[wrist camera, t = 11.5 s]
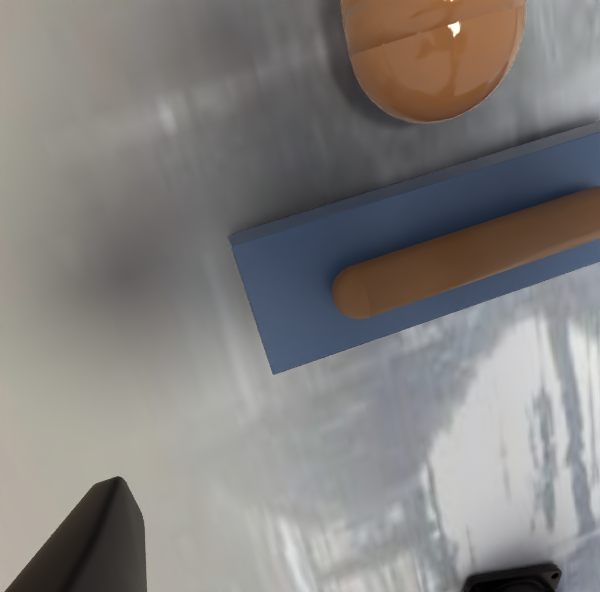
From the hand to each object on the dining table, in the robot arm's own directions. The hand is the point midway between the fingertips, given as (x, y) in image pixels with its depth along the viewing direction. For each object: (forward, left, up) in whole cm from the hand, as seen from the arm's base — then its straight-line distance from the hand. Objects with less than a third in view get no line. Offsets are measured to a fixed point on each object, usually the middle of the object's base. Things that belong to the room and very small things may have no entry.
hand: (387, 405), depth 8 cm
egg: (-4, -8, -9) cm, 12 cm away
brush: (-6, -1, -11) cm, 13 cm away
